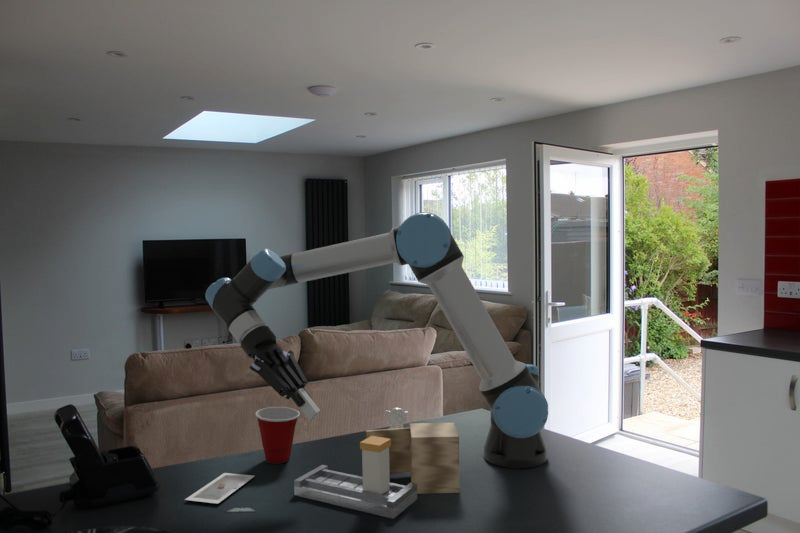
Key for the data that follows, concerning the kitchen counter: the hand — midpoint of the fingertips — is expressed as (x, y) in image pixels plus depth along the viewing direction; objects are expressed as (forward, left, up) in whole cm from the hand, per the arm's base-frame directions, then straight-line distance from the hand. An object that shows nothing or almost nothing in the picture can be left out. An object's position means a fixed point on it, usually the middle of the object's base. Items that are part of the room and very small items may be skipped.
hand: (315, 415), depth 129 cm
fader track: (-9, +5, -16) cm, 19 cm away
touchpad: (+20, 0, -17) cm, 26 cm away
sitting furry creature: (-18, -19, -16) cm, 31 cm away
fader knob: (-13, +8, -14) cm, 21 cm away
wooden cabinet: (-21, -1, -16) cm, 26 cm away
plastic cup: (+11, -18, -16) cm, 27 cm away
